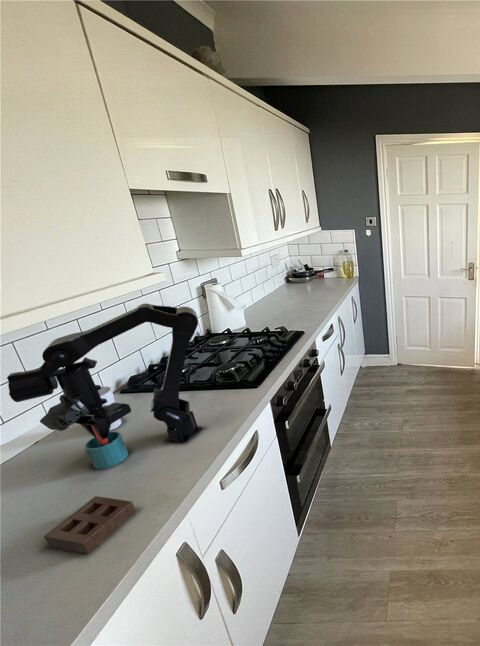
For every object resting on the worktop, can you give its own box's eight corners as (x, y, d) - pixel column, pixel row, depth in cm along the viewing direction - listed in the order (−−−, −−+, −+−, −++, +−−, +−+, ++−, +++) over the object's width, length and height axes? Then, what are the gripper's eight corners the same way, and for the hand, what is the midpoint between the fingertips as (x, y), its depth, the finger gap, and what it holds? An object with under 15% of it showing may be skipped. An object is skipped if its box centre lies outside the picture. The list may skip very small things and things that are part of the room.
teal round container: (114, 448, 98) (105, 430, 96) (135, 451, 97) (127, 432, 95) (86, 467, 92) (76, 447, 89) (108, 470, 91) (99, 450, 88)
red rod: (108, 448, 94) (95, 418, 91) (114, 449, 94) (100, 418, 91) (101, 453, 93) (87, 422, 89) (107, 454, 93) (93, 423, 89)
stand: (100, 505, 80) (95, 495, 79) (136, 511, 79) (131, 501, 78) (49, 546, 71) (43, 536, 70) (88, 554, 69) (82, 543, 68)
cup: (121, 415, 114) (108, 383, 109) (127, 424, 109) (114, 391, 104) (89, 427, 108) (73, 394, 103) (94, 438, 103) (78, 404, 99)
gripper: (8, 402, 81) (37, 455, 86) (72, 408, 77) (98, 463, 83) (63, 378, 91) (86, 427, 96) (122, 383, 87) (142, 433, 93)
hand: (102, 437), depth 92 cm, fingers closed on red rod, 2 cm apart
